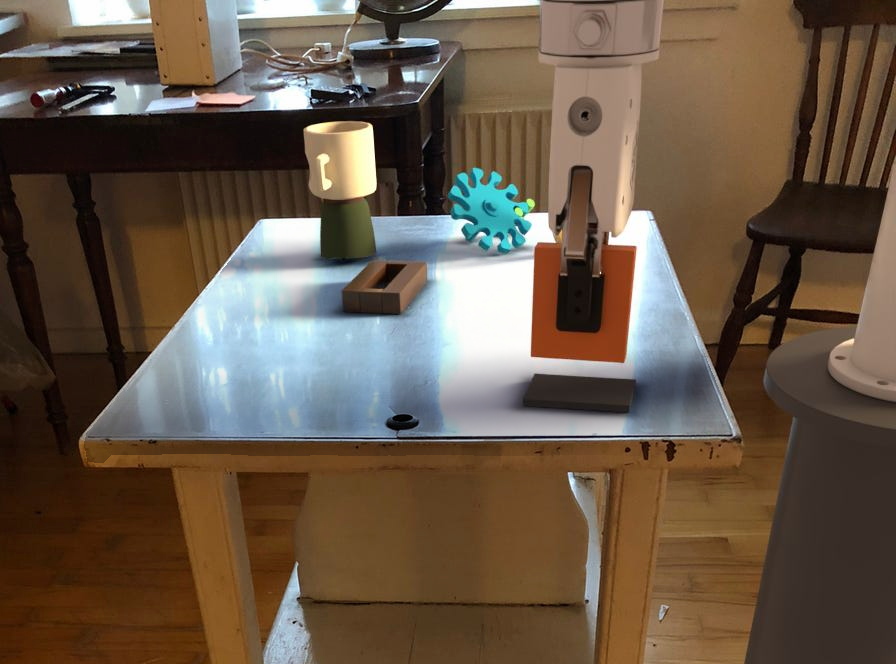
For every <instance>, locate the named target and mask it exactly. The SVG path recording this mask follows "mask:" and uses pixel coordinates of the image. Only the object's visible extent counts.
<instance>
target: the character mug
mask: <svg viewBox="0 0 896 664" xmlns="http://www.w3.org/2000/svg"><path fill="white" fill-rule="evenodd" d="M303 140H304V153H305V156H306V159H307V162H308V165H309V167H308V168H309V176H308V177H309V178H308V188H309V190H310V192H311V194H312V195H314V196H315V197H318V198H320V200H321V202H322V204H321V208H320V227H319V229H320V232H319V249H320V250H319V253H320V257H321V258H323V259H325V260H331V259H340V261H341V263H345V262H347V259H360V258H368V257H372V256H374V255H375V254H376V253H377V252H378V251H377V243H376V237H375V231H374V225H373V220H372V217H371V210H370V206H369V203H368V201H367V199H366V198H365V197H366V196H369V195H372V194H373V193H375V191H377V173H376V172H377V171H376V158H375V143H374V142H375V141H374V130H373V124H371V123H370V122H365V121H355V120H346V121H344V120H343V121H329V122H322V123H316V124H311V125H308V126H306V127H304V128H303Z"/></svg>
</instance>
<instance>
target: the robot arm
mask: <svg viewBox="0 0 896 664" xmlns="http://www.w3.org/2000/svg"><path fill="white" fill-rule="evenodd" d="M664 6H665V0H539V20H538V21H539V24H538V25H539V27H538V51H537V53H538V54H537V61H538V62H539V63H540V64H543V65H547V66H554V77H553V78H554V79H553V91H552V101H551V106H552V108H551V122H550V123H551V124H550V125H551V127H550V141H549V142H550V143H549V145H550V147H549V163H548V165H549V167H548V193H547V194H548V196H547V197H548V201H547V203H548V205H547V208H548V209H547V218H548V219H547V220H548V222H547V223H548V228H549V230H550V232H551V233H552V232H553V233H554V234H555V235H559V233H560V232H561V230H562V244H561V266H560V273H559V275H558V295H557V314H556V328H557V329H558V330H559V331H566V332H583V333H597V332H599V330H600V328H601V320H602V307H603V295H604V282H605V275H601V269H602V255H603V245H609V240H610V237H611V238H618V237H619V236H621V234H622V233H623V232H624V230H625V228H626V226H627V224H628V221H629V219H630V216H631V214H632V211H633V208H634V201H635V185H636V170H637V158H638V156H637V155H638V144H639V133H640V117H641V103H642V79H643V77H642V75H643V71H642V70H643V68H642V67H643V66H642V64H648V63H651V62H656V61H657V60H659V59H660V58H659V57H660V47H661V36H662V27H663V17H664V8H665V7H664ZM878 228H879V229H878V232H877V237H876V242H875V246H874V251H873V254H872V260H871V264H870V268H869V271H868V272H869V273H868V278H867V282H866V285H865V290H864V293H863V299H862V303H861V306H860V307H861V308H860V313H859V315H858V316H859V317H858V321H857V325H856V326H857V329H856V334H855V338H854V339H851V340H848V341H845V342H843V343H841V344H839V345H838V346H836V347H835V348H834V349H833V350H832V351H831V353H830V357H829V361H828V371H829V372H830V374H831V376H832V377H833V378H834V379H835V380H836V381H837V382H839V383H840V384H842V385H843V386H845V387H847V388H849V389H851V390H853V391H855V392H858V393H860V394H863V395H866V396H869V397H873V398H877V399H881V400H885V401H890V402H896V158H895V159H894V163H893V167H892V172H891V176H890V180H889V185H888V189H887V194H886V198H885V202H884V207H883V212H882V216H881V220H880V224H879V227H878ZM553 233H552V234H553ZM610 233H611V234H610ZM593 244H594V248H593Z"/></svg>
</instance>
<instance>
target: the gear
mask: <svg viewBox="0 0 896 664" xmlns="http://www.w3.org/2000/svg"><path fill="white" fill-rule="evenodd" d="M483 176H484V171H483V169H481V168H478V167H473V168H472V169H471V170H470V172H469V174H467V173H466V172H461V173H459V174H457V175H456V176H455V178H454V179H453V182H454V185H453V186H452V188H451V189H450V190H449V192H448V193H447V198H448V200H449V201H452V202H455V203H456V204H455V203H454V204H453V206H452V207H451V208H450V218H451V219H452V220H453V221H458V220H464V221H468V222H466V223H464V224H463V226H462V227H461V229H460V231H461V233H462V235H463V236H464V239H465V241H467V242H468V243H473V242H474V241H475V239H476V238H477V236H478V235H479V234H480V233H483V234H485V235H484V236H482V237H481V238H480V240H479V241H478V245H477V246H478V247H479V248H480V249H482V250H483V251H485V252H488V251H489V250H490V249H491V247H492V246H493V243H494V242H493V241H494V240H493V239H494V237H497V238H498V239H499V240H500V243H499V244H498V245H497V247H496V250H497V252H498V253H499V254H502V255H507V254H509V252H510V251H511V250H512V247H513V248H514V249H519V248H521V247H523V246H524V244H525V243H526V241H527V239H526V237H525V236H526V234H528V232H530V230H531V228H532V225H533V224H532V223H531V222H530V221H529V220H526V219H525V217H526V215H528V214H529V213H530V212H531V211H532V210H533V209H534V207H535V205H536V204H535V201H534V199H532V198H527V199H526V201H521V202H515V201H512V200H514V199H515V198H516V197H517V196H518V194H519V191H518V189H517V187H516V185H515V184H513V183H510V184H509V185H508V186H507V187H506V188H505V189H497V186H499V184H500V183H501V181H502V180H503V177H502V176H501V175H500V174H499V173H498V172H496V171H494V170H493V171H492V172H491V173H490V174H489V176H488V177H487V184H486V185H484V184H482V182H481V179H482V178H483ZM469 178H470V180H471V182H472V187H471V186H470V185H469ZM463 194H464V195H463ZM508 235H510V236H511V242H510V240H509V237H508Z"/></svg>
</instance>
